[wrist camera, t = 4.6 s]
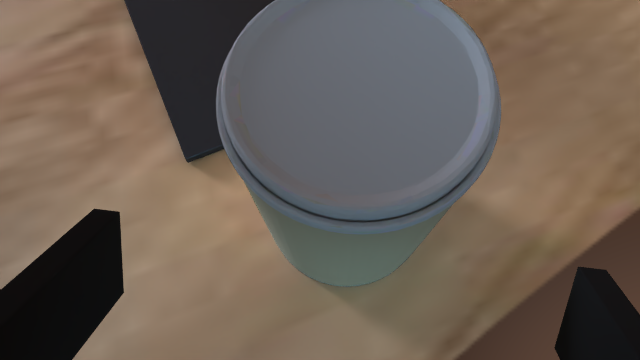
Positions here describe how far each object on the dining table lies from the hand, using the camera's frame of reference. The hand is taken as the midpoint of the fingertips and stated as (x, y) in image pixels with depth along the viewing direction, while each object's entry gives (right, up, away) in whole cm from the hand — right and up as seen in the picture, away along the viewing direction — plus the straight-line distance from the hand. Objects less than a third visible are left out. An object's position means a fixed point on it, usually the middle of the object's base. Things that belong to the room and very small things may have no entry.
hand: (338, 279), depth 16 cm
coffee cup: (+1, +1, +13) cm, 13 cm away
